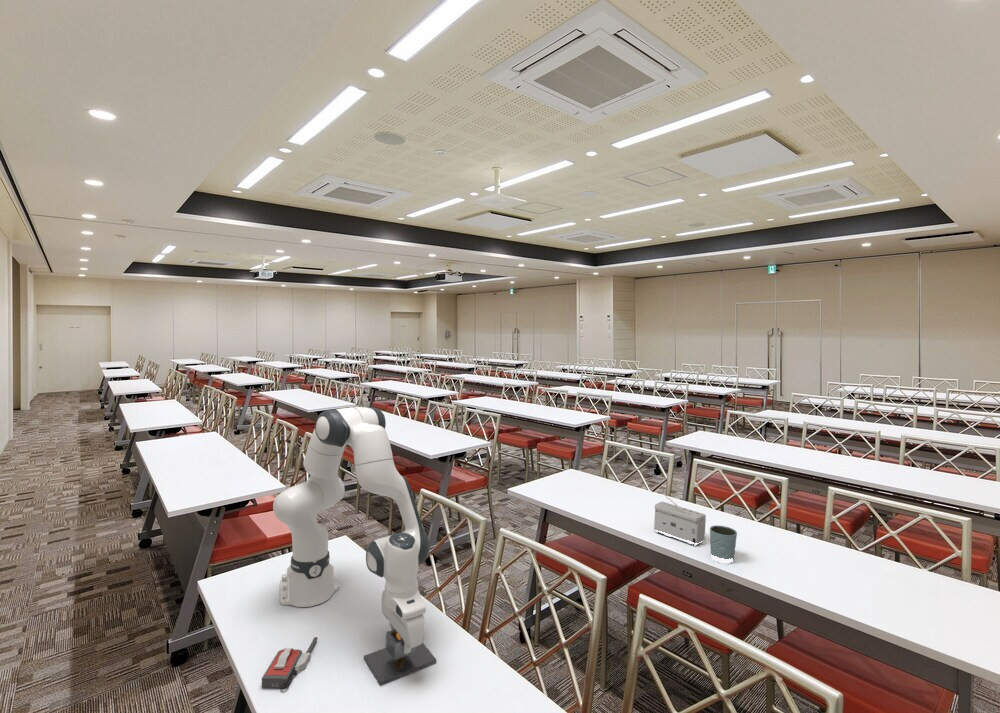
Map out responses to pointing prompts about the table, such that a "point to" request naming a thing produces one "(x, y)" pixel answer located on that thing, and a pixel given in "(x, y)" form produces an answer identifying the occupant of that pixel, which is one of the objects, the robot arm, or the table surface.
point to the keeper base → (397, 663)
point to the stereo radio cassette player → (679, 521)
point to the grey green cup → (722, 541)
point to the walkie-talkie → (286, 667)
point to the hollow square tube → (396, 645)
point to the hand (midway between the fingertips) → (400, 644)
